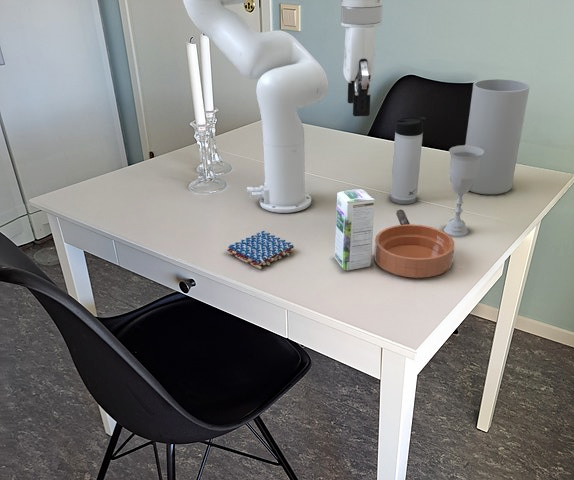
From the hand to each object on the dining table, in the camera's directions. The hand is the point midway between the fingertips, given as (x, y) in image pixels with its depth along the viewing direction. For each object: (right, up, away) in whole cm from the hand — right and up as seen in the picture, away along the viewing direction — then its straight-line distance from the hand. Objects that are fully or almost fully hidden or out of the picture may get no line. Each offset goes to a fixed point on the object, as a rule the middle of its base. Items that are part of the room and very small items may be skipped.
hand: (358, 109), depth 121 cm
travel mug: (+14, -14, +27) cm, 34 cm away
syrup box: (-1, -31, 0) cm, 31 cm away
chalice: (+23, -24, +11) cm, 35 cm away
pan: (+11, -30, 0) cm, 32 cm away
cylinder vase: (+36, -10, +33) cm, 50 cm away
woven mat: (-20, -29, +4) cm, 35 cm away
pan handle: (+11, -22, +9) cm, 26 cm away
